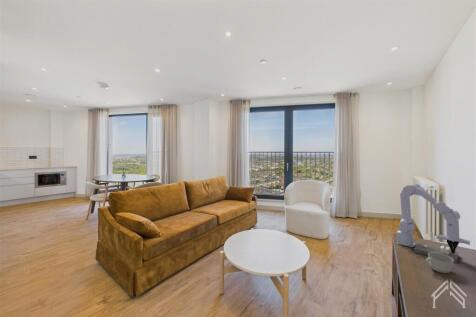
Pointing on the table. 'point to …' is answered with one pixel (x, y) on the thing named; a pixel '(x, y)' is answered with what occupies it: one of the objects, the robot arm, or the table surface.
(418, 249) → the console
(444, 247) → the fader
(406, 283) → the table surface
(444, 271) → the teacup
